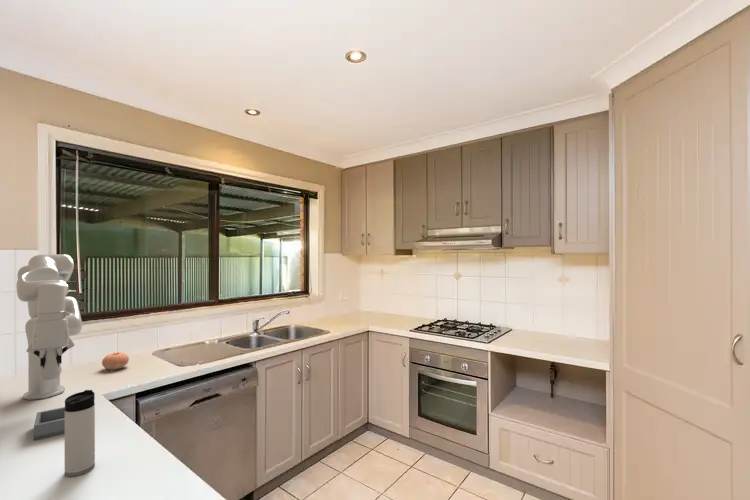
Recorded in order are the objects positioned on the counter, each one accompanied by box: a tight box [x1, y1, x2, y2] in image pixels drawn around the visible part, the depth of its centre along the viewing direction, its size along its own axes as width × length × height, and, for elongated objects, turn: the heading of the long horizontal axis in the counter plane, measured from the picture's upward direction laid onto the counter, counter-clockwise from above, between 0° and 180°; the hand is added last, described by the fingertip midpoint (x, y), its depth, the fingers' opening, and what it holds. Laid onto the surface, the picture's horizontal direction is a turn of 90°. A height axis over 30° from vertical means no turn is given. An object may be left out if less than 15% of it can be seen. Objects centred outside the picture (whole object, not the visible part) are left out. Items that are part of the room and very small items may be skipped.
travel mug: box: [64, 389, 96, 478], centre depth 98 cm, size 6×7×20 cm
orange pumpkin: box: [101, 351, 130, 371], centre depth 181 cm, size 11×11×8 cm
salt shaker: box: [41, 346, 62, 380], centre depth 135 cm, size 6×6×13 cm
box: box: [33, 406, 65, 441], centre depth 121 cm, size 12×12×4 cm
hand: (51, 366), depth 135 cm, fingers closed on salt shaker, 3 cm apart
